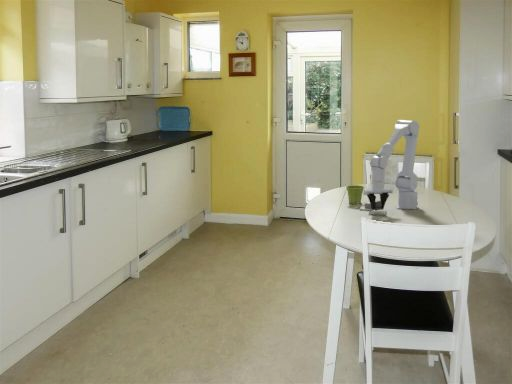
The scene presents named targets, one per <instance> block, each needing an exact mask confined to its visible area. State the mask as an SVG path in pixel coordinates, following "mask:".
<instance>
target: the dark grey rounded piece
mask: <svg viewBox="0 0 512 384" xmlns="http://www.w3.org/2000/svg"><path fill="white" fill-rule="evenodd" d="M373 210H376V211H384V209H383V208H382V201H380V200H375V209H373Z"/></svg>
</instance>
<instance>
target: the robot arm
mask: <svg viewBox="0 0 512 384" xmlns="http://www.w3.org/2000/svg"><path fill="white" fill-rule="evenodd" d="M419 130H420V124H419V123H418V121H417V120H415V119H414V120H408V119H407V120H406V119H397V121H396V123H395V124H394V131H393V132H392V134H391V136H390V138H389V140H388V142H386V143H383V144H382V146H381V148H379V151H377V153H376V155H374V156H373V157H371V159H370V161H369V165H370V167H371V168H370V169H371V171H372V174H371V175H372V176H371V177H372V179H371V181H372V183H371V189H366V190H364V189H363V192H362V195H364V196H367V199H368V202H370V204H371V209H375V201H376V199H377V197H376V195H379V199H380V200H379V201H382V208H383V210H384V209H385V206H386V202H387V200H388V198H389V197H390V195H389V194H393V193H394V191H393V190H394V189H392V188H385V176H386V174H385V173H386V171H385V170H386V169H385V168H387V167H388V163H389V161H390V160H389V159H390V157H391V156H392V154H393V152H394V151H395V149H394V148H395V145H396V144H397V143H398V142H399V140H400V139H401V138H402V137H403V138H404V139H405V145H404V147H405V148H404V152H403V153H404V154H403V161H402V169H401V171H400V172H398V173H397V176H396V179H395V183H394V184H395V187H396V188H397V190H398V200H397V201H398V203H397V205H396V207H397V209H398V210H399V209H400V210H401V209H402V210H403V209H404V210H417V209H418V206H419V205H418V204H419V202H418V190H416V189H417V188H418V176H417V174H416V173H415V172H414V169H415V168H414V167H415V159H416V153H417V146H418V138H419V133H420V132H419Z"/></svg>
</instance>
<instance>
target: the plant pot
mask: <svg viewBox="0 0 512 384" xmlns="http://www.w3.org/2000/svg"><path fill="white" fill-rule="evenodd" d="M345 188H346V190H347V195H348V203H349V204H352V205H358V204H361V203H362V198H363V197H362V196H363V191H364V189H365V186H364V185H360V184H359V185H358V184H355V185H354V184H353V185H352V184H351V185H347V186H346V187H345Z"/></svg>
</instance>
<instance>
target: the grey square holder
mask: <svg viewBox="0 0 512 384" xmlns="http://www.w3.org/2000/svg"><path fill="white" fill-rule="evenodd" d="M359 210H360V211H370V210H373V209H371V204H370V201H365V202H364V204H361V205H360V207H359ZM375 211H377V210H375Z"/></svg>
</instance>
